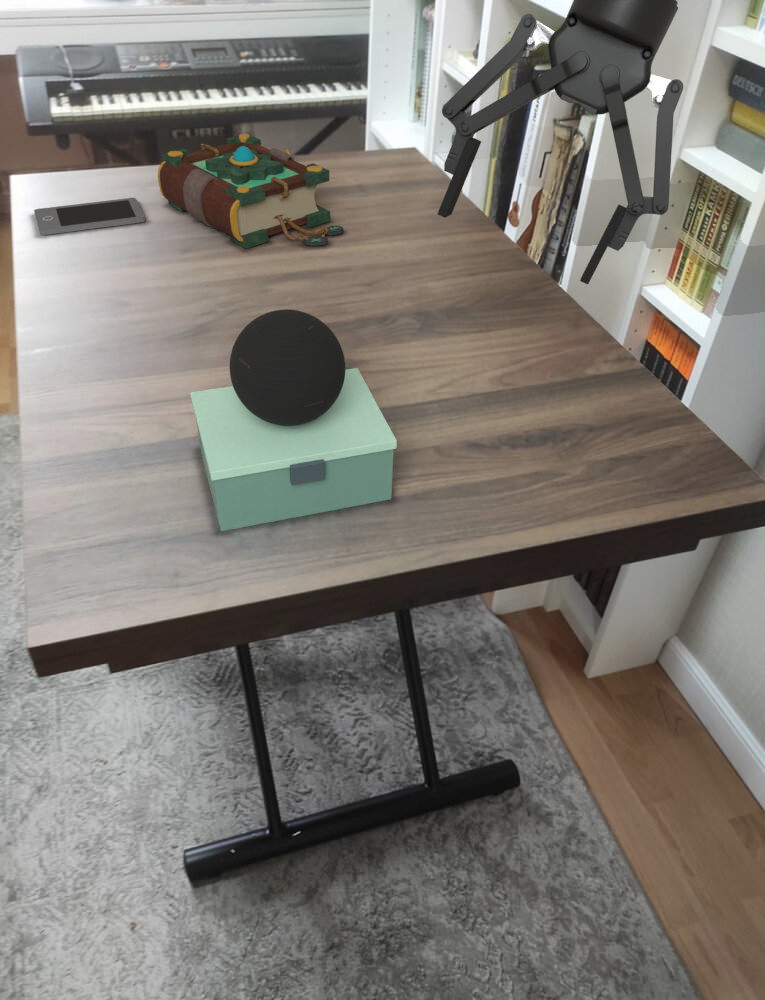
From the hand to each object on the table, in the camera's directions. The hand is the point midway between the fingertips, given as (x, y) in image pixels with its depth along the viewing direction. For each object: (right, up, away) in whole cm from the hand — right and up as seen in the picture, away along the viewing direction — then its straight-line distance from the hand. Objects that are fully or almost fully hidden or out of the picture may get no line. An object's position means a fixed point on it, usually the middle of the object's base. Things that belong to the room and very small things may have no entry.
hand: (513, 247), depth 73 cm
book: (-29, +20, +53) cm, 64 cm away
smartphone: (-55, +20, +51) cm, 78 cm away
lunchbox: (-20, -20, +8) cm, 29 cm away
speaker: (-20, -15, +3) cm, 25 cm away
